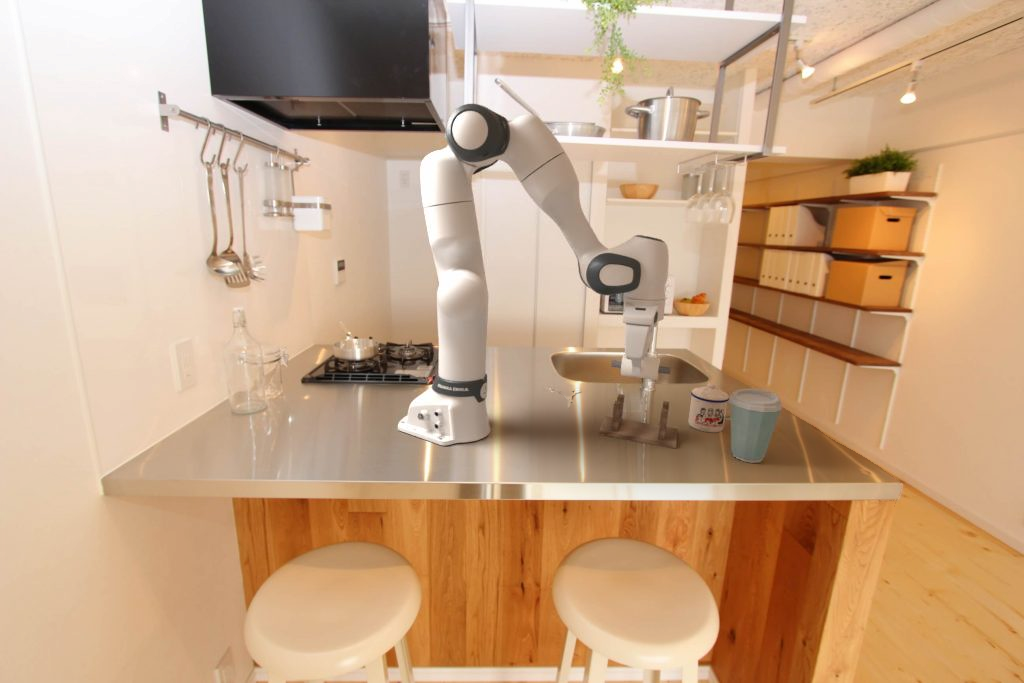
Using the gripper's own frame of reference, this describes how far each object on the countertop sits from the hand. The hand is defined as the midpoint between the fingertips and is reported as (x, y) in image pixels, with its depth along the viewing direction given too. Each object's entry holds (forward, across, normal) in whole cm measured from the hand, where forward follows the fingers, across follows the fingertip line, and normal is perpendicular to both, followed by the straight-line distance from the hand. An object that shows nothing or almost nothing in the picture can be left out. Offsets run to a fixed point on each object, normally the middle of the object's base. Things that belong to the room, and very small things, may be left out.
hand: (638, 369), depth 109 cm
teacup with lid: (+18, -19, +18) cm, 32 cm away
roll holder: (+18, -6, +1) cm, 19 cm away
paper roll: (-1, 0, 0) cm, 1 cm away
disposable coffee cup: (+18, -4, +25) cm, 31 cm away
